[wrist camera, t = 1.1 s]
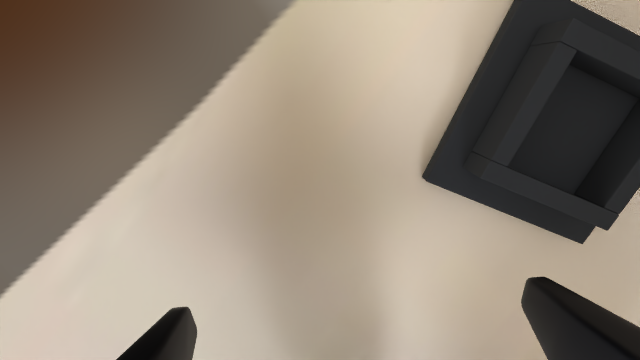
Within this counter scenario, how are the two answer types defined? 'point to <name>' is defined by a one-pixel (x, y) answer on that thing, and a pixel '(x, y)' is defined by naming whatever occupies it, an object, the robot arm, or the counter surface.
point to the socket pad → (549, 121)
